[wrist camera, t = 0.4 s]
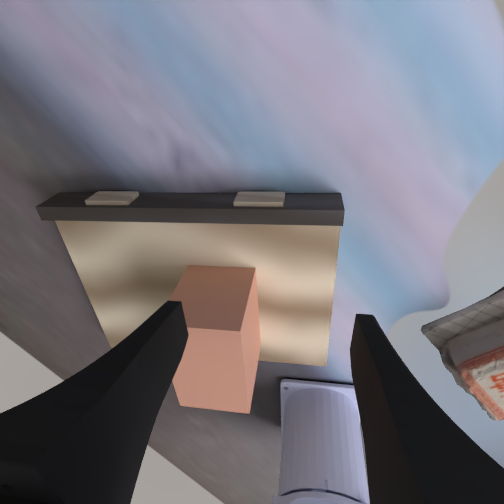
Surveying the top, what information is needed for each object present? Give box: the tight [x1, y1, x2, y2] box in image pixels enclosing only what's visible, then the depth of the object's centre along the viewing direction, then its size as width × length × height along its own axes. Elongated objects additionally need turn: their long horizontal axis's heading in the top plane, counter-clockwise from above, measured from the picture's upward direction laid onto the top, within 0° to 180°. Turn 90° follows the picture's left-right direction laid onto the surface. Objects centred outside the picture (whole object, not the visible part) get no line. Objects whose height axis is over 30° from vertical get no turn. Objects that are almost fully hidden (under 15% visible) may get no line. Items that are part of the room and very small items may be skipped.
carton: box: [169, 265, 261, 414], centre depth 22 cm, size 5×8×6 cm, turn 3°
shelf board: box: [36, 191, 345, 366], centre depth 24 cm, size 15×20×2 cm
